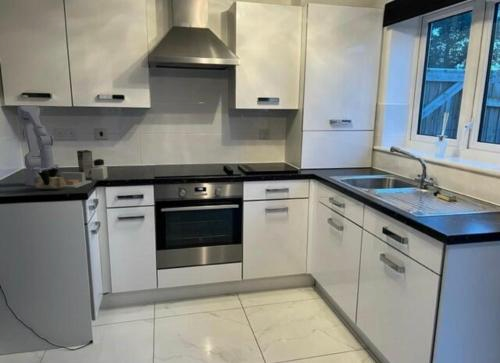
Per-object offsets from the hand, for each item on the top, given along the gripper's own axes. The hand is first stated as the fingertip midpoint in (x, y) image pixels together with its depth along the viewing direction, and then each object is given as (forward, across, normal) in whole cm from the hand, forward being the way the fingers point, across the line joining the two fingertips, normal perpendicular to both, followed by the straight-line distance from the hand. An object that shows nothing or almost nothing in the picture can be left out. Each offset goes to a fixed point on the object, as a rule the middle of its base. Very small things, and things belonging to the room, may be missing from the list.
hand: (49, 183), depth 196 cm
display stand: (+3, +13, -1) cm, 13 cm away
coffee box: (+3, +39, +4) cm, 39 cm away
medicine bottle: (+3, +31, -10) cm, 33 cm away
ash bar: (+2, 0, 0) cm, 2 cm away
